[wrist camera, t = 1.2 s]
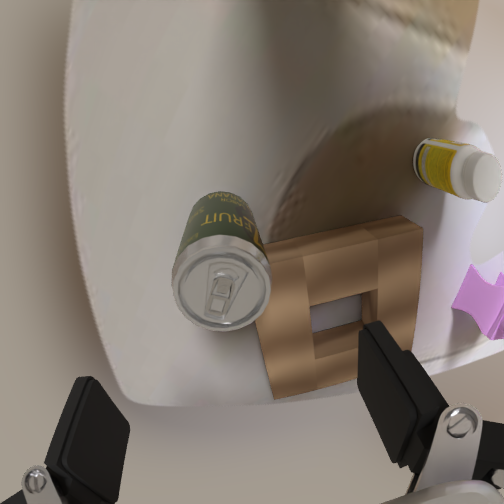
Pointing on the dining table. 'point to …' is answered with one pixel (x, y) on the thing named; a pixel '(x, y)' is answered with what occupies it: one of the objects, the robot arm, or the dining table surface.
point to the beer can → (221, 265)
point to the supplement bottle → (458, 169)
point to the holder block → (336, 287)
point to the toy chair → (483, 303)
